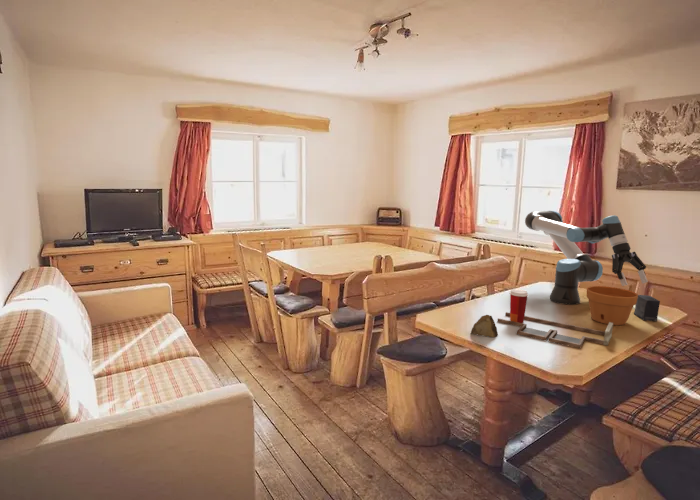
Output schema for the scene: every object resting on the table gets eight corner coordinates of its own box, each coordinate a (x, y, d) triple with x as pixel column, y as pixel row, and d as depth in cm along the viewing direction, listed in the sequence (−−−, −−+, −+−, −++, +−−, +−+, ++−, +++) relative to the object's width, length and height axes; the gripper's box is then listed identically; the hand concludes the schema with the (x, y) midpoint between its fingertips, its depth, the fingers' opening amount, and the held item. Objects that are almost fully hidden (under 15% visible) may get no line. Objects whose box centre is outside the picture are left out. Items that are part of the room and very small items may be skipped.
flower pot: (591, 310, 220) (594, 283, 217) (638, 320, 205) (642, 291, 203) (577, 320, 205) (580, 290, 203) (627, 331, 191) (631, 299, 188)
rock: (464, 329, 184) (484, 332, 177) (470, 311, 187) (490, 314, 179) (477, 339, 190) (497, 343, 182) (483, 322, 193) (502, 325, 185)
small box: (658, 321, 204) (661, 301, 202) (643, 320, 205) (645, 300, 204) (647, 315, 214) (650, 295, 213) (633, 314, 216) (636, 294, 214)
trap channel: (489, 328, 193) (490, 315, 192) (506, 314, 212) (507, 303, 211) (604, 353, 166) (606, 339, 165) (611, 335, 185) (613, 322, 184)
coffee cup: (525, 319, 205) (527, 289, 202) (526, 325, 197) (529, 294, 195) (507, 317, 208) (509, 288, 205) (507, 323, 200) (509, 292, 197)
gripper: (607, 243, 211) (622, 284, 205) (644, 240, 219) (660, 279, 212) (595, 248, 218) (610, 288, 211) (631, 245, 225) (646, 283, 219)
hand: (635, 284), depth 212 cm, fingers open, 13 cm apart
